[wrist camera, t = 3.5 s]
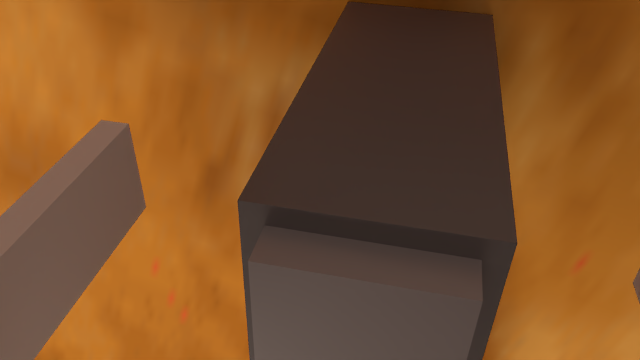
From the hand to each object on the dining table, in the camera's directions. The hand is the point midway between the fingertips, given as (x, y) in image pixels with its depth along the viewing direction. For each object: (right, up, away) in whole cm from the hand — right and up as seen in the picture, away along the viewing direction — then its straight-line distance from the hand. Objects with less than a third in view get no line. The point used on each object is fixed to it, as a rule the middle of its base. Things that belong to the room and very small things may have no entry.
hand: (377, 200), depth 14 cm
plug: (+2, +5, +7) cm, 9 cm away
